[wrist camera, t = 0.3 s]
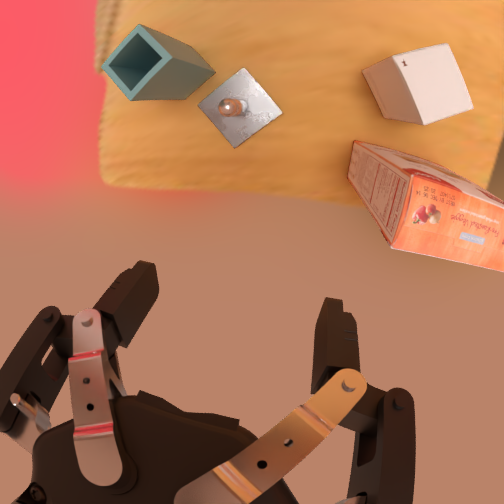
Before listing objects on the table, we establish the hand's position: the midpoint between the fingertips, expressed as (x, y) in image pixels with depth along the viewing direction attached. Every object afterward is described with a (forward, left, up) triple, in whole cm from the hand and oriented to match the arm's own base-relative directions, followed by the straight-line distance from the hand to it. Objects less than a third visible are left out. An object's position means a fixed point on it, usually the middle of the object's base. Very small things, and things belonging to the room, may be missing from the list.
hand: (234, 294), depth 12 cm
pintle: (-8, -5, -28) cm, 29 cm away
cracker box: (-2, +17, -28) cm, 33 cm away
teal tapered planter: (-13, -13, -28) cm, 33 cm away
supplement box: (-13, +15, -28) cm, 35 cm away
